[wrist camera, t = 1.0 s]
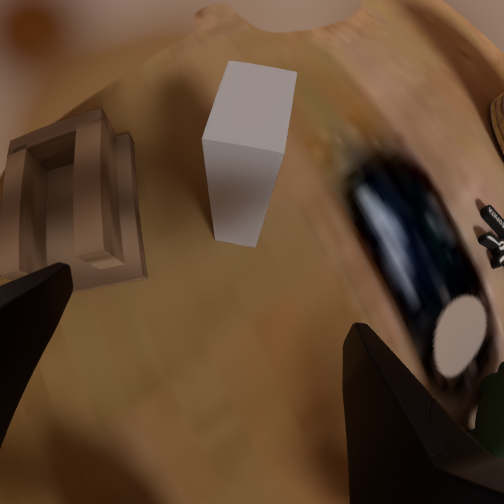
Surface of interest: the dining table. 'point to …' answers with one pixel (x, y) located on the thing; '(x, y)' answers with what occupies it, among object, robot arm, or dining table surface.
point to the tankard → (498, 119)
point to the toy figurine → (491, 414)
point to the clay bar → (246, 147)
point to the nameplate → (500, 247)
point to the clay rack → (72, 204)
